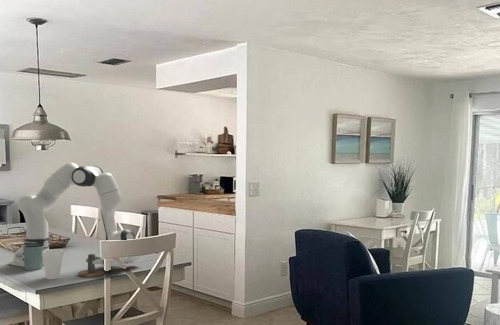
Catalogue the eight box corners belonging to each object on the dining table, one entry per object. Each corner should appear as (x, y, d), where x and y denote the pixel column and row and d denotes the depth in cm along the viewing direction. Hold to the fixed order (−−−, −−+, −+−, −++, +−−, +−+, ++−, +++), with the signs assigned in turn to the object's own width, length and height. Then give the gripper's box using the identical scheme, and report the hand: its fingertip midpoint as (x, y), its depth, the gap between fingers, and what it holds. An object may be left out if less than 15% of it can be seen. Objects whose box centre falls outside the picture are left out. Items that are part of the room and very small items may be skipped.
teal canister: (19, 270, 250) (19, 247, 249) (30, 266, 260) (30, 243, 260) (37, 271, 248) (37, 247, 248) (48, 266, 258) (48, 244, 258)
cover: (73, 276, 237) (74, 255, 237) (86, 270, 249) (86, 251, 249) (96, 278, 235) (96, 257, 235) (107, 272, 247) (108, 253, 246)
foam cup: (46, 275, 239) (46, 249, 239) (65, 275, 240) (65, 248, 240) (39, 280, 230) (39, 252, 230) (59, 279, 230) (59, 252, 230)
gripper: (102, 248, 258) (78, 252, 248) (124, 254, 245) (100, 258, 234) (102, 260, 258) (78, 264, 248) (124, 266, 245) (100, 271, 234)
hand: (89, 261), depth 241 cm, fingers open, 5 cm apart
